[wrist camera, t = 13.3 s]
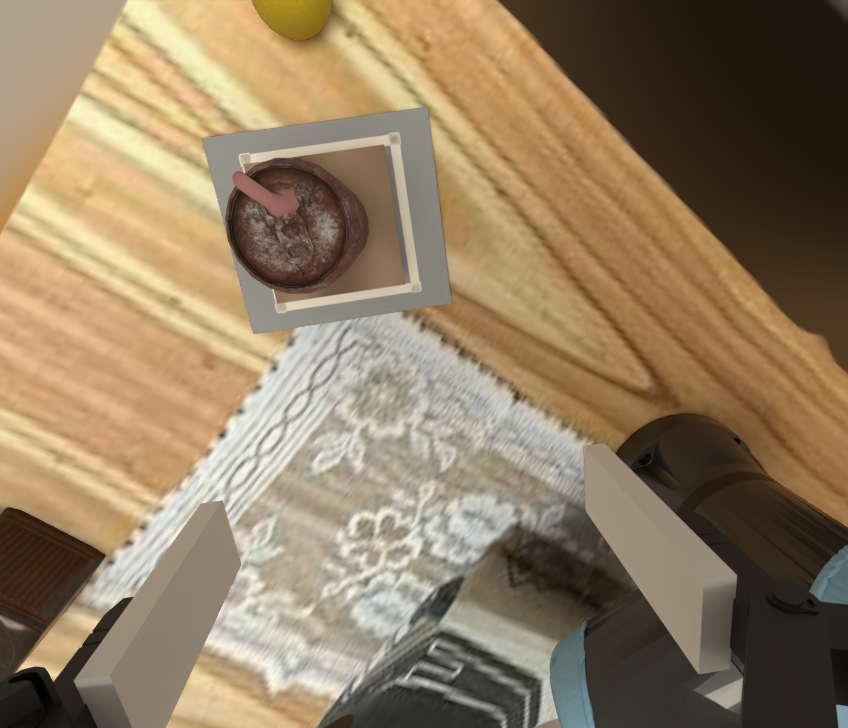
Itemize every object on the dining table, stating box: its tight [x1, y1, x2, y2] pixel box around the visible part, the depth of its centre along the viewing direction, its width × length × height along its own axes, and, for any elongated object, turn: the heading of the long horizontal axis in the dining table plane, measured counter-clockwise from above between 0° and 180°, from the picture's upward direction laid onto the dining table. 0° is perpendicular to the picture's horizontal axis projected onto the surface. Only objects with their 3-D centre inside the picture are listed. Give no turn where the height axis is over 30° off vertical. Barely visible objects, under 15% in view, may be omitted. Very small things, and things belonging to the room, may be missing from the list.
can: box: [225, 158, 369, 294], centre depth 27 cm, size 6×6×14 cm
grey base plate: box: [202, 107, 452, 334], centre depth 39 cm, size 18×16×1 cm
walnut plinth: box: [243, 144, 405, 304], centre depth 36 cm, size 10×10×5 cm
